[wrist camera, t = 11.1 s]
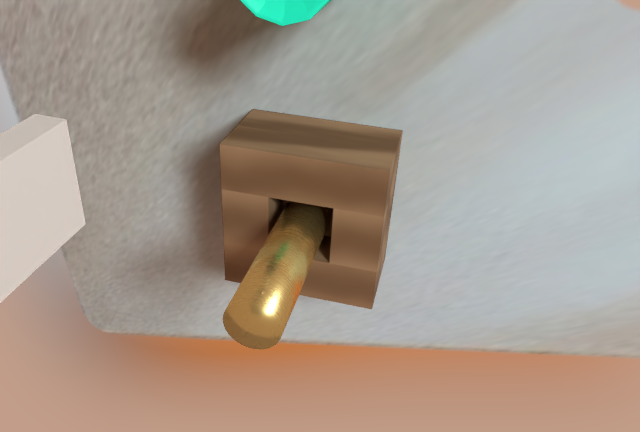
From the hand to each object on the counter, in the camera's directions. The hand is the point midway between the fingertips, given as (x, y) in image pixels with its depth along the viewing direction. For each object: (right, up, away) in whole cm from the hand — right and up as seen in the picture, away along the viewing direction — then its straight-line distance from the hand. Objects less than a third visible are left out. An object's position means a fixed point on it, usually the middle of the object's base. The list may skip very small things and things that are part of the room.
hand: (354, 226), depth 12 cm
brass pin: (-1, +1, +33) cm, 33 cm away
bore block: (-1, +3, +36) cm, 36 cm away
